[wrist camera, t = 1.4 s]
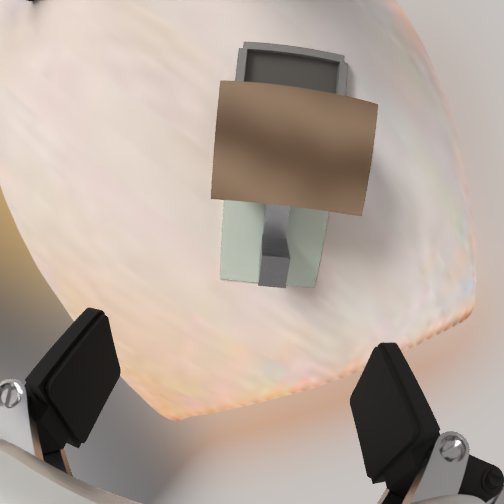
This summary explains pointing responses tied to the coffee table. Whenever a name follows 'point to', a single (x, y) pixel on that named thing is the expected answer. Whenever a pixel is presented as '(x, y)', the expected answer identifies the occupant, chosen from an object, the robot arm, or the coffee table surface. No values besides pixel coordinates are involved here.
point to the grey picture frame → (292, 67)
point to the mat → (250, 235)
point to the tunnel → (292, 147)
